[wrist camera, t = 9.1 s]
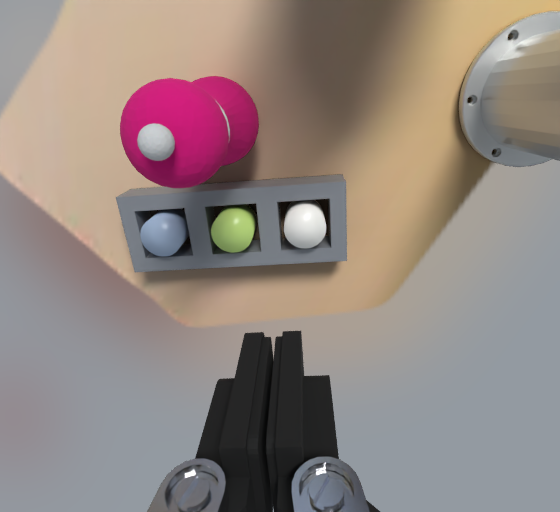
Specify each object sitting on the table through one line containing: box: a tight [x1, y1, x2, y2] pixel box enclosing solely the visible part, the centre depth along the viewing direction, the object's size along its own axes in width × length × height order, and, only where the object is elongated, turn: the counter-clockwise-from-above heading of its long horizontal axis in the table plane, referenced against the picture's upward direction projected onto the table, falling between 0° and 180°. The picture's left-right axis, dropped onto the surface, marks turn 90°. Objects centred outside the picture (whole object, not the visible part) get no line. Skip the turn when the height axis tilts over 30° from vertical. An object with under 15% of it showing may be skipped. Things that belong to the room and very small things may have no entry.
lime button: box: [211, 204, 257, 253], centre depth 38 cm, size 4×4×4 cm
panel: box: [116, 174, 347, 272], centre depth 38 cm, size 22×8×4 cm, turn 95°
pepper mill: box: [120, 76, 259, 188], centre depth 27 cm, size 7×7×20 cm
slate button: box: [140, 208, 189, 257], centre depth 38 cm, size 4×4×4 cm
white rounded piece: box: [284, 200, 326, 248], centre depth 37 cm, size 4×4×4 cm
